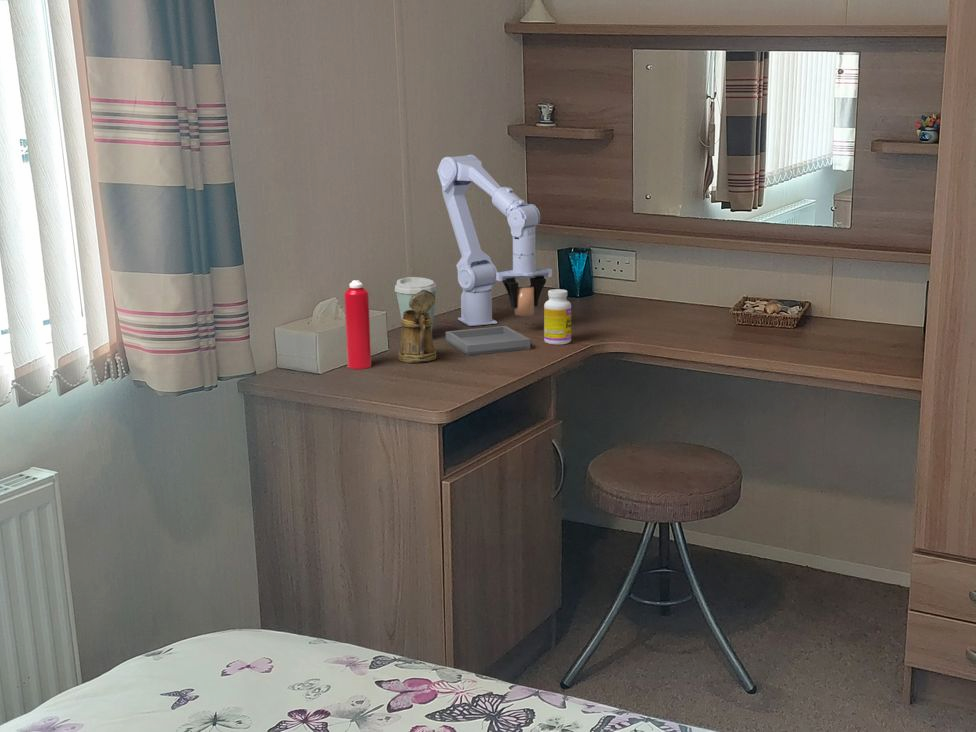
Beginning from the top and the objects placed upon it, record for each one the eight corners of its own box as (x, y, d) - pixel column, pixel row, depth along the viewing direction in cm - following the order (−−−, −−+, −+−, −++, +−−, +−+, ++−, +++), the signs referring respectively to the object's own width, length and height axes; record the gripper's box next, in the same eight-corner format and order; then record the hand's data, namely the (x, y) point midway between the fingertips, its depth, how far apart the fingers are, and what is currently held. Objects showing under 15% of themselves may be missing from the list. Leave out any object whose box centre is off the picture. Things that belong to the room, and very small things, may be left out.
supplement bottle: (569, 345, 286) (569, 293, 283) (542, 344, 287) (542, 293, 284) (572, 339, 292) (573, 288, 289) (546, 338, 293) (546, 288, 290)
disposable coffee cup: (447, 338, 295) (446, 279, 292) (417, 346, 288) (415, 285, 284) (417, 332, 302) (416, 274, 299) (387, 339, 295) (385, 280, 291)
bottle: (376, 366, 269) (372, 279, 264) (357, 370, 266) (353, 283, 261) (361, 362, 273) (358, 277, 268) (342, 366, 270) (338, 280, 265)
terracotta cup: (511, 312, 301) (511, 285, 300) (529, 310, 303) (529, 284, 301) (519, 316, 297) (518, 289, 295) (537, 314, 299) (537, 287, 297)
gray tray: (445, 341, 292) (445, 331, 291) (505, 335, 297) (505, 325, 297) (467, 355, 277) (467, 345, 277) (530, 349, 283) (530, 339, 282)
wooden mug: (406, 369, 266) (404, 291, 261) (394, 356, 278) (391, 281, 274) (445, 366, 268) (443, 288, 264) (430, 352, 281) (428, 278, 276)
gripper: (503, 258, 290) (503, 312, 294) (556, 254, 295) (556, 307, 299) (492, 253, 296) (493, 306, 300) (545, 250, 301) (545, 302, 305)
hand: (524, 306), depth 300 cm, fingers closed on terracotta cup, 5 cm apart
